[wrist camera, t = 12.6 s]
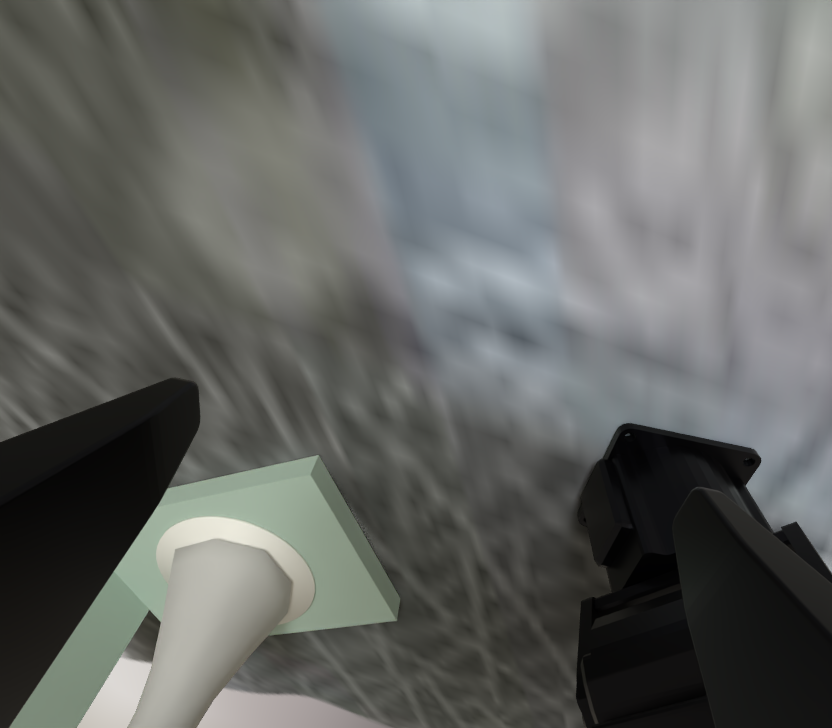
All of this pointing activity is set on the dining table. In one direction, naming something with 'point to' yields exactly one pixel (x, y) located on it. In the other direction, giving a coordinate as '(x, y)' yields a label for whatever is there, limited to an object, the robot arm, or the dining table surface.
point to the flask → (209, 628)
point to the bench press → (237, 523)
